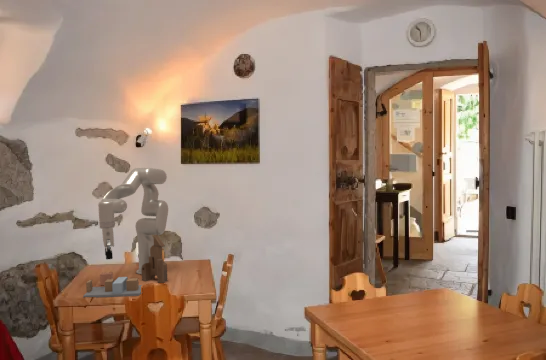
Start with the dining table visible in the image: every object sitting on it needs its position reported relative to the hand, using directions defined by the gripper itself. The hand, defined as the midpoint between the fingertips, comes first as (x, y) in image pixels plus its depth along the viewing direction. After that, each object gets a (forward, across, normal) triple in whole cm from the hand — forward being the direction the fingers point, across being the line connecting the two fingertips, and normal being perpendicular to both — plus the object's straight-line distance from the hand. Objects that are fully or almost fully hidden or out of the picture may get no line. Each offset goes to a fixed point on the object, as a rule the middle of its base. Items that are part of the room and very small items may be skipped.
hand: (108, 257), depth 274 cm
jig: (+16, -13, -2) cm, 20 cm away
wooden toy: (+16, +3, -24) cm, 29 cm away
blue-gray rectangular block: (+14, -14, -4) cm, 20 cm away
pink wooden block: (+16, +6, +2) cm, 17 cm away
